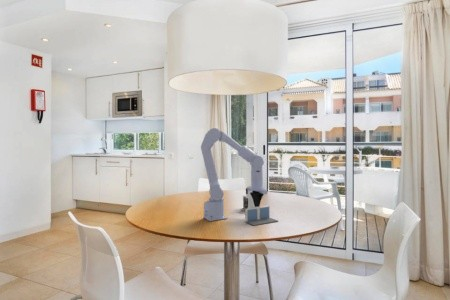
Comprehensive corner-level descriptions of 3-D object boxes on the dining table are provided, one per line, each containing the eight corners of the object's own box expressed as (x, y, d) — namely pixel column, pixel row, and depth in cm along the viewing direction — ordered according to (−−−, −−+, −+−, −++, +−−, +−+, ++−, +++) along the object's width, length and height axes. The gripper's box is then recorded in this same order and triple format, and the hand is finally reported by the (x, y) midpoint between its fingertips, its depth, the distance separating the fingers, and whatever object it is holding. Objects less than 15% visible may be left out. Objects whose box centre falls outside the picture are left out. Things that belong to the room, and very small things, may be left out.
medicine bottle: (243, 208, 162) (242, 187, 162) (254, 207, 164) (254, 186, 164) (247, 210, 155) (247, 188, 155) (259, 209, 158) (259, 188, 157)
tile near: (247, 222, 133) (247, 209, 132) (245, 221, 134) (245, 208, 134) (257, 220, 135) (257, 207, 135) (255, 219, 137) (255, 207, 137)
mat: (253, 225, 126) (253, 225, 126) (245, 222, 132) (245, 221, 132) (278, 221, 133) (278, 220, 133) (269, 218, 139) (269, 217, 139)
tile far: (259, 220, 136) (259, 207, 136) (257, 219, 137) (257, 207, 137) (269, 218, 139) (269, 206, 139) (267, 217, 140) (267, 205, 140)
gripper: (272, 180, 138) (272, 208, 138) (255, 177, 151) (255, 203, 151) (260, 181, 135) (260, 210, 135) (243, 178, 147) (244, 204, 148)
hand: (257, 206), depth 143 cm, fingers closed
